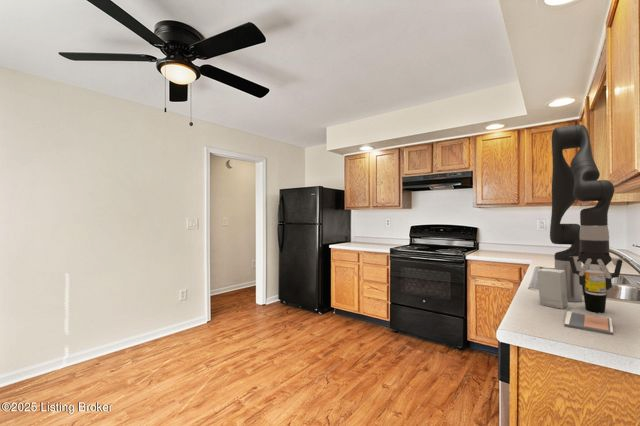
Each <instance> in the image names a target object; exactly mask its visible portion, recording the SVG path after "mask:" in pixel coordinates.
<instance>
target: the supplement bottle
mask: <svg viewBox="0 0 640 426" xmlns="http://www.w3.org/2000/svg"><path fill="white" fill-rule="evenodd" d="M606 278H607V277H606V275H605V272H603V270H602V268H601V267H600V265H597V264H590V265H589V266H588V268H587V270H586V271H585V273H584V279H585V292H586V293H588V294H592V295H606Z"/></svg>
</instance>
